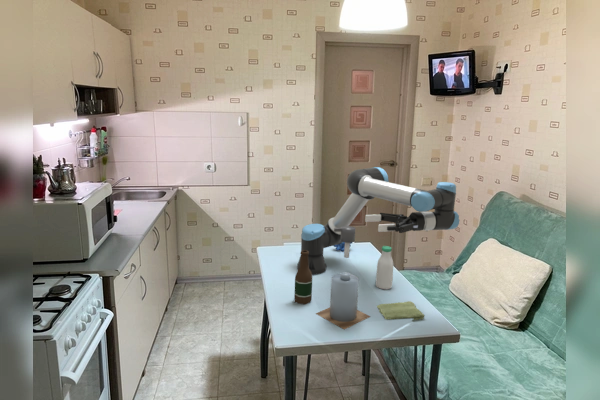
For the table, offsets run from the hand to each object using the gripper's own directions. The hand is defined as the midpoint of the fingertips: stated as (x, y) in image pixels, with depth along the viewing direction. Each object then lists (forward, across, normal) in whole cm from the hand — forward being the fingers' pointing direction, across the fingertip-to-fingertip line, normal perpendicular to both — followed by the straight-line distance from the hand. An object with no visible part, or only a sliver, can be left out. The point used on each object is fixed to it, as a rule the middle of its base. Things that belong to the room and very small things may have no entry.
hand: (371, 223), depth 167 cm
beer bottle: (+23, +15, -40) cm, 49 cm away
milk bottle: (-19, +26, -40) cm, 52 cm away
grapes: (-14, +76, -40) cm, 87 cm away
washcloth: (-15, -1, -41) cm, 44 cm away
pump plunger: (+11, 0, -14) cm, 17 cm away
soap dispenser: (+10, 0, -39) cm, 40 cm away
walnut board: (+10, 0, -40) cm, 41 cm away
